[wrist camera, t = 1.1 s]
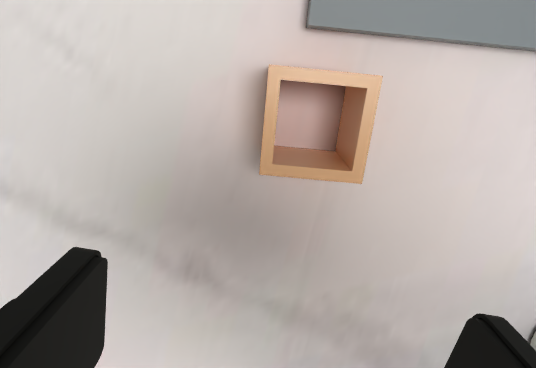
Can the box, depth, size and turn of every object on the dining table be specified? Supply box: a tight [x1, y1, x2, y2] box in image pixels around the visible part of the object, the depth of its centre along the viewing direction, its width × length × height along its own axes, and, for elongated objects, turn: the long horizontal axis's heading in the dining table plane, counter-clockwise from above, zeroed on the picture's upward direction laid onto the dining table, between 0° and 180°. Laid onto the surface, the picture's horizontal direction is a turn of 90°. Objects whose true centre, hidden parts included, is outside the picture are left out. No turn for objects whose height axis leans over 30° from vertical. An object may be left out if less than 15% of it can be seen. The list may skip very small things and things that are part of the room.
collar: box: [259, 65, 383, 184], centre depth 24 cm, size 7×7×6 cm
